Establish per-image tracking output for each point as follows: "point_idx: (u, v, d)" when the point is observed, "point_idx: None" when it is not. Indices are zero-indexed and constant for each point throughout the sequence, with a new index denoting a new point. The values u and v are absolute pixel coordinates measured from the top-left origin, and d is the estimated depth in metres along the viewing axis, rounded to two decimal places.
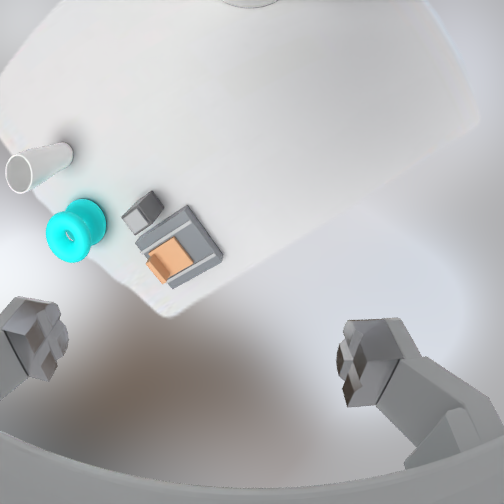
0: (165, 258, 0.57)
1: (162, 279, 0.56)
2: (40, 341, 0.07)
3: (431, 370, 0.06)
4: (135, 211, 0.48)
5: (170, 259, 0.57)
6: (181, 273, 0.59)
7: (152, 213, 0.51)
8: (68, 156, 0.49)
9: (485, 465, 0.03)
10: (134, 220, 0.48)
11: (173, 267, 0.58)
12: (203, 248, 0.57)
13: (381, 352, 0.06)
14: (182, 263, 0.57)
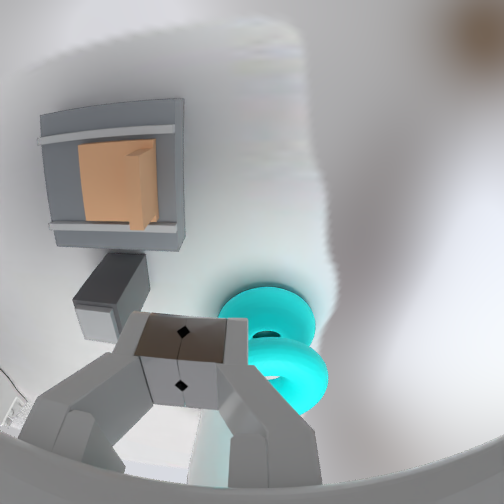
0: (125, 189, 0.21)
1: (131, 167, 0.18)
2: None
3: (247, 382, 0.05)
4: (88, 337, 0.22)
5: (116, 180, 0.21)
6: (117, 132, 0.20)
7: None
8: None
9: (485, 465, 0.03)
10: (97, 329, 0.22)
11: (122, 158, 0.20)
12: (54, 161, 0.21)
13: (199, 353, 0.06)
14: (97, 157, 0.20)
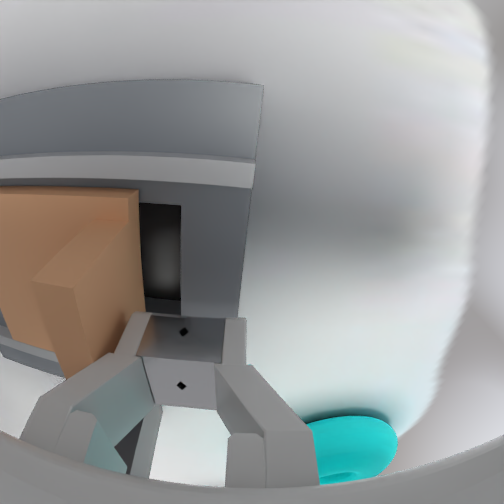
0: None
1: (57, 317, 0.05)
2: None
3: (245, 382, 0.05)
4: None
5: None
6: (88, 168, 0.07)
7: None
8: None
9: (485, 465, 0.03)
10: None
11: (55, 237, 0.07)
12: None
13: (197, 353, 0.06)
14: (6, 226, 0.07)
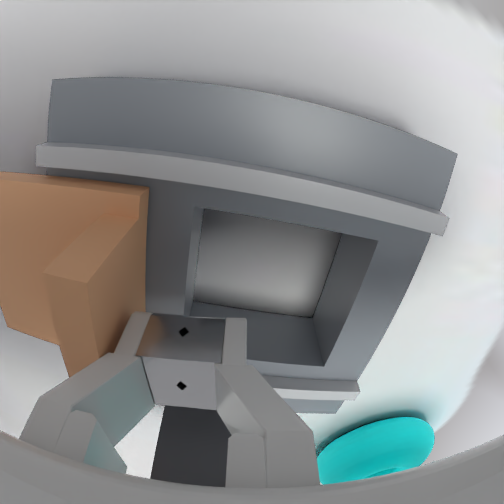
0: None
1: (66, 310, 0.05)
2: None
3: (246, 382, 0.05)
4: None
5: None
6: (316, 195, 0.08)
7: None
8: None
9: (485, 465, 0.03)
10: None
11: (61, 229, 0.08)
12: None
13: (197, 352, 0.06)
14: (11, 213, 0.07)
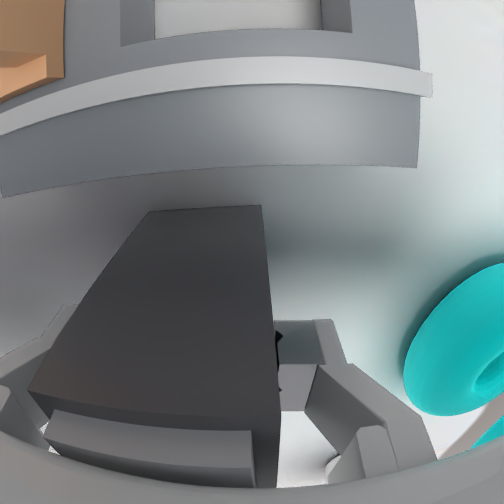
0: None
1: None
2: None
3: (352, 379, 0.06)
4: None
5: None
6: None
7: None
8: None
9: (485, 465, 0.03)
10: None
11: None
12: None
13: (298, 356, 0.06)
14: None
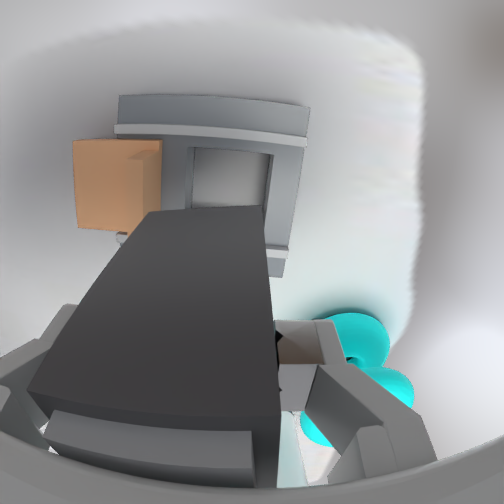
0: (124, 195, 0.19)
1: (133, 173, 0.15)
2: None
3: (353, 379, 0.06)
4: None
5: (114, 185, 0.18)
6: (236, 134, 0.17)
7: None
8: None
9: (485, 465, 0.03)
10: None
11: (122, 160, 0.18)
12: None
13: (298, 356, 0.06)
14: (94, 156, 0.17)
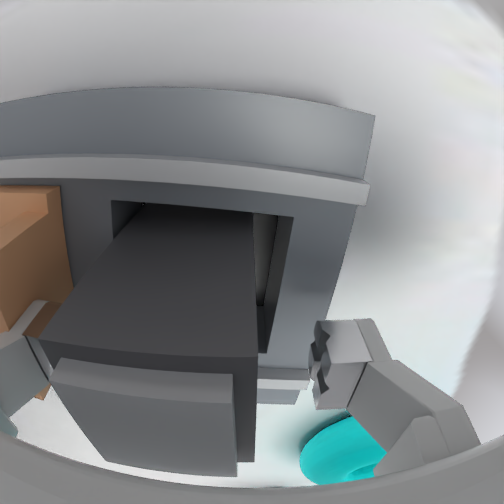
0: None
1: None
2: None
3: (400, 375, 0.06)
4: (119, 460, 0.06)
5: None
6: (208, 176, 0.08)
7: None
8: None
9: (485, 465, 0.03)
10: (154, 448, 0.05)
11: None
12: None
13: (347, 354, 0.06)
14: None
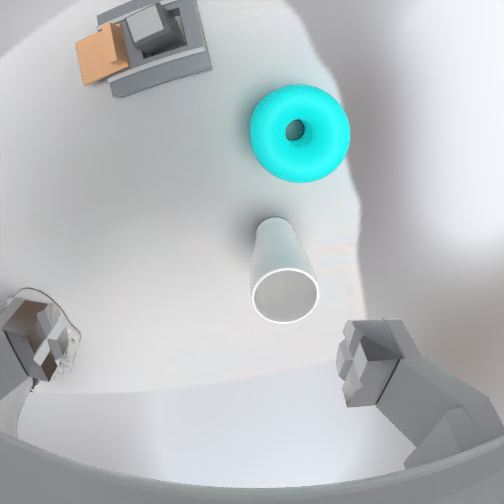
0: (106, 55, 0.28)
1: (106, 29, 0.24)
2: (40, 341, 0.07)
3: (431, 370, 0.06)
4: (137, 38, 0.24)
5: (100, 52, 0.28)
6: None
7: None
8: (257, 233, 0.40)
9: (485, 465, 0.03)
10: (145, 25, 0.23)
11: (102, 39, 0.27)
12: None
13: (381, 352, 0.06)
14: (88, 44, 0.27)
